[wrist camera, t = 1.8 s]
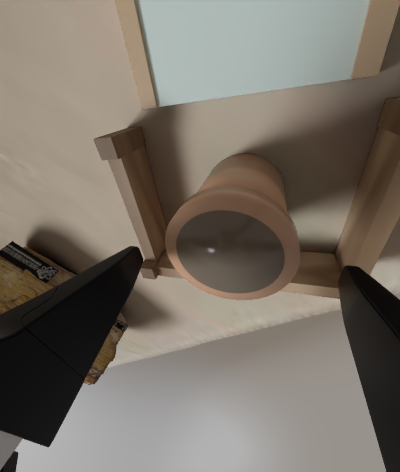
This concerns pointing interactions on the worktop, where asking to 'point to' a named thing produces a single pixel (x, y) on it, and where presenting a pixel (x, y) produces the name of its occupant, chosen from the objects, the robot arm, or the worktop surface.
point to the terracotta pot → (236, 232)
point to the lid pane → (250, 45)
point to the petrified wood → (39, 281)
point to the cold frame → (311, 263)
